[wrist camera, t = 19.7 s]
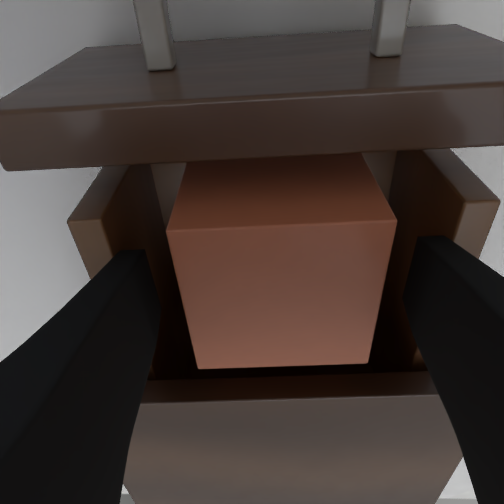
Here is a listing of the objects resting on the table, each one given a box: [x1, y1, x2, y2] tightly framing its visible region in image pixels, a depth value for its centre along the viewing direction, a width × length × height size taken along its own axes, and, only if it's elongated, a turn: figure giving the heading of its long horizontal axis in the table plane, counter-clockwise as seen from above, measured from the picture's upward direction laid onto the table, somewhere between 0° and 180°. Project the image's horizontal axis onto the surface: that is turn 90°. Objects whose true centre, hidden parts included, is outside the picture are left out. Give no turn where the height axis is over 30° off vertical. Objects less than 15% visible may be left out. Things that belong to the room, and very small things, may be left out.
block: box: [166, 153, 397, 369], centre depth 11 cm, size 4×4×6 cm
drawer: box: [0, 0, 504, 380], centre depth 12 cm, size 18×11×6 cm, turn 3°
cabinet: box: [123, 371, 463, 504], centre depth 18 cm, size 14×12×8 cm
